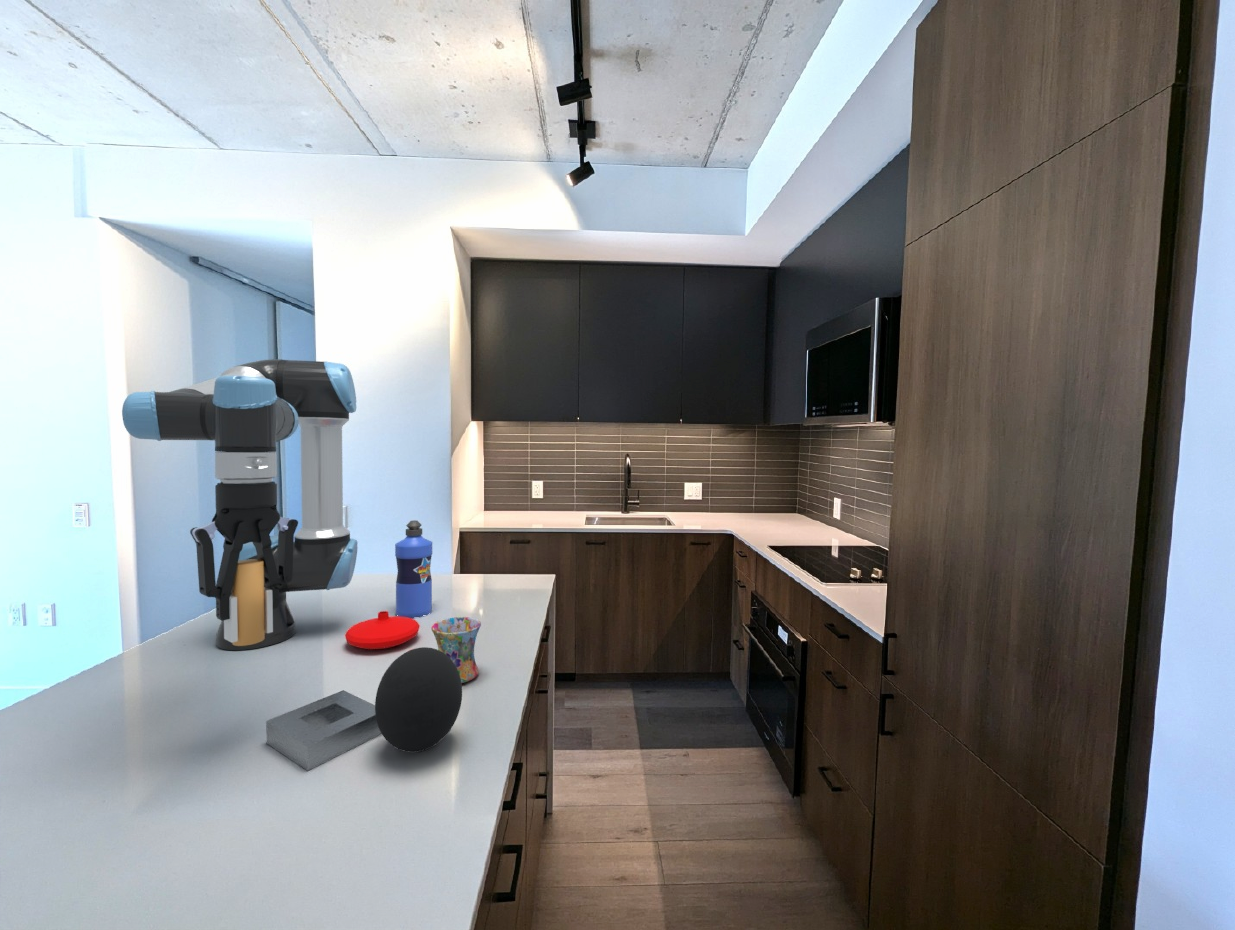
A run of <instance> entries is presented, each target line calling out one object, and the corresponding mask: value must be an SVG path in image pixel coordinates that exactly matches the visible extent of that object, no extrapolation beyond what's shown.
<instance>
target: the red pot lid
mask: <svg viewBox="0 0 1235 930" xmlns="http://www.w3.org/2000/svg"><path fill="white" fill-rule="evenodd" d="M389 613H390V612H389V611H387V610H382V611H379V612H378V613H377V617H376V618H375V617H374V618H370V619H366V620H363V621H360V622H358V623H356V624H353V625H352V626H351V627H349V628H348V629H347V631H346V632H345V634H344V637H345V640H346V642H347V643H348V644H349V645H350V646H354V647H356V648H359V649H365V650H383V649H389V648H393V647H397V646H400V645H403V644H404V643H407V641H410V640H411V639H413V638H414V637H416V636H417V635H418V633H419V631H420V627H421V626H420V624H419V622H418V621H417V620H416V619H415V618H408V617H400V616H393V615H392V616H390V615H389Z"/></svg>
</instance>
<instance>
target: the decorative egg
mask: <svg viewBox="0 0 1235 930" xmlns="http://www.w3.org/2000/svg"><path fill="white" fill-rule="evenodd" d="M375 694H376V695H375V700H374V705H375V714H376V720H377V724H378V727H379V729H380V732H381V734H380V735H382V737H383V738H384V739H385V741H386V742H387V743H389V745H390V746H392V747H394V748H395V749H397V750H399V751H402V752H407V753H417V752H422V751H425V750H428V749H430V748H432V747H434V746H436V745H437V744H439V743H440V742H441V741H442V740H443V739H444V738H445V737H446V736H447V735H448V734H449V733H450V731H451V729H452V728H453V727H454V725H455V723H456V721H457V719H458V716H459V713H460V710H461V707H462V700H463V683H461V678H460V675H459V672H458V670H457V667H456V666H455V664H454V663H453V661H452V660H451V659H450V658H449V657H448V656H447V655H446V654H444V653H443V652H441V651H439V650H438V648H437V649H436V648H433V647H416V648H412V649H410V650H408V651H406V652H404V653H403V654H402V653H401V654H400V655H399V656H398V657H397V658H395V659H394V660H393V661H392V663H390V665H389V666H388V667H387V669H386V670H385V672H384V673H383V675H382V677H381V679H380V681H379V684H378V687H377V690H376V693H375Z"/></svg>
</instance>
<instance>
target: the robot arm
mask: <svg viewBox="0 0 1235 930" xmlns="http://www.w3.org/2000/svg"><path fill="white" fill-rule="evenodd" d="M356 411H357V394H356V387H355V382H354V378H353V375H352V373H351V370H350V369H349V368H348V366H346V364H343V363H340V362H339V363H338V362H331V361H318V360H315V361H314V360H294V359H292V360H291V359H280V358H279V359H277V358H276V359H274V358H271V359H263V360H256V361H253V362H247V363H241V364H239V365H235V366H232V367H229V368H227V369H226V370H224V371H223V372H222V373H221V374H220V375H219V376H217V377H213V378H211V379H208V380H205V381H201V382H198V383H195V384H192V385H189V386H185V387H182V388H178V389H176V390H171V391H169V392H168V391H167V392H165V391H162V392H160V391H155V390H151V391H136V392H132V393H130V394H129V395H128V396H126V398H125V399H124V401H123V404H122V409H121V414H122V415H121V416H122V422H123V425H124V428H125V429H126V432H127V433H128V434H129V435H130V436H131V437H134V438H135V439H139V440H153V441H155V440H156V441H158V442H161V441H214V478H216V480H219V482H218V483H216V485H215V486H214V487H215V488H214V489H215V491H214V492H215V495H214V496H215V512H214V513H215V514H214V516H213V518H212V519H211V522H210V523H207V524H205V525H203V526H201V527H192V528H191V529H190V530H189V531H190V532H189V533H190V536H191V537H192V539H193V541H194V542H195V545H196V559H197V560H196V563H197V574H198V587H199V589H198V590H199V594H200V595H203V596H205V597H208V598H215V616H216V618H217V620H219V621H220V624H219V626H218V629H217V632H216V636H215V639H216V640H215V641H216V644H215V645H216V647H217V648H219V649H222V650H225V651H226V650H227V651H245V650H246V651H247V650H252V649H259V648H264V647H268V646H271V645H272V646H273V645H275V644H279V643H281V642H284V641H286V640H288V639H290V638H292V637H293V636H294V635H295V633H296V621H295V620H294V619H295V618H294V616H293V614H292V611H291V609H290V608H289V604H288V602H287V593H288V592H289V593H290V592H292V593H293V592H306V591H321V590H322V591H323V590H326V591H329V590H333V589H342V588H346V587H347V586H348V585H349V584H350V583H351V581H352V578H353V577H354V573H355V568H356V563H357V555H358V539H356V538H355V539H354V538H351V531H350V530H349V529H348V528H347V527H345V525H344V508H343V506H344V505H343V503H344V502H343V500H344V498H343V497H344V496H343V495H344V494H343V493H344V492H343V426H344V425H346V424H347V423H348V422H349V421H350V414H353V413H355V412H356ZM299 426H300V476H301V477H300V480H301V481H300V482H301V483H300V484H301V485H300V487H301V492H300V493H301V497H300V498H301V528H299V530H298V531H297V532H296V530H297V527H298V525H299V520H297V519H295V518H289V517H283V516H281V514H280V512H279V511H278V507H277V505H278V484H277V483H276V481H273V479H275V478H276V477H278V475H277V471H278V469H277V463H278V461H277V443H279V442H281V441H284V440H286V439H289V438H290V437H291V436H293V434H295V432H297V429H298V428H299ZM276 526H277V528H276V529H277V530H278V534H277V535H275V534H274V535H271V533H272V531H273V530H274V529H275V527H276ZM216 531H217V532H218V533H219V534H220V535H222V537H223V538H224V540H223V546H222V547H223V552H222V556H221V560H220V564H219V565H220V566H219V569H218V575H217V578H216V570H215V569H216V567H215V566H216V565H215V552H214V544H213V541H212V540H214V538H215V537H216V536H215V532H216ZM249 559H260V560H263V561H264V626H265V639H264V640H263V641H261V642H259V643H256V644H252V645H246V646H235V645H233V644H232V643H233V642H236V641H238V623H237V597H235V596H232V587H233V582H234V578H235V573H236V569H237V564H238V561H241V560H249ZM216 579H217V580H216Z"/></svg>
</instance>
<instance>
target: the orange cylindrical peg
mask: <svg viewBox="0 0 1235 930" xmlns="http://www.w3.org/2000/svg"><path fill="white" fill-rule="evenodd" d="M232 596H235V597H237V623H238V641H236V642H233V643H232V644H233V645H235V646H246V645H252V644H256V643H259V642H261V641H263V640H264V639H265V626H264V561H263V560H260V559H249V560H241V561H238V564H237V569H236V573H235V578H234V582H233V587H232Z"/></svg>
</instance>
